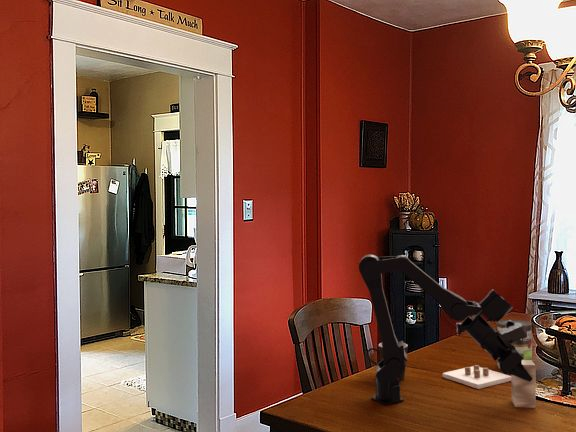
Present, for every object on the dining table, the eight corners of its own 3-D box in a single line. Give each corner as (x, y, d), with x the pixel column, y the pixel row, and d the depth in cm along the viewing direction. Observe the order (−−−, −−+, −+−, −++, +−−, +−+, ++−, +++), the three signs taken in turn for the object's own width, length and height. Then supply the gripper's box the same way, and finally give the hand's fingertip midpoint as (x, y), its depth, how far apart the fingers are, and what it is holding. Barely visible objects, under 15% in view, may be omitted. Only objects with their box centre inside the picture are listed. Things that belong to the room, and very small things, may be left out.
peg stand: (442, 377, 191) (442, 366, 191) (475, 369, 198) (475, 359, 198) (478, 388, 179) (478, 377, 179) (512, 380, 186) (512, 369, 186)
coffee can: (538, 367, 199) (538, 322, 199) (521, 373, 192) (521, 327, 192) (508, 361, 207) (507, 318, 206) (491, 367, 200) (490, 322, 200)
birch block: (515, 407, 163) (515, 364, 163) (511, 400, 168) (511, 359, 168) (535, 407, 162) (535, 365, 162) (531, 401, 167) (531, 359, 167)
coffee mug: (413, 377, 191) (413, 344, 191) (397, 384, 185) (397, 350, 184) (381, 370, 199) (381, 339, 199) (365, 376, 193) (364, 344, 192)
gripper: (513, 320, 156) (561, 365, 154) (500, 306, 174) (543, 347, 173) (480, 351, 157) (527, 396, 156) (471, 334, 176) (513, 375, 174)
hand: (528, 377), depth 165 cm, fingers closed on birch block, 5 cm apart
